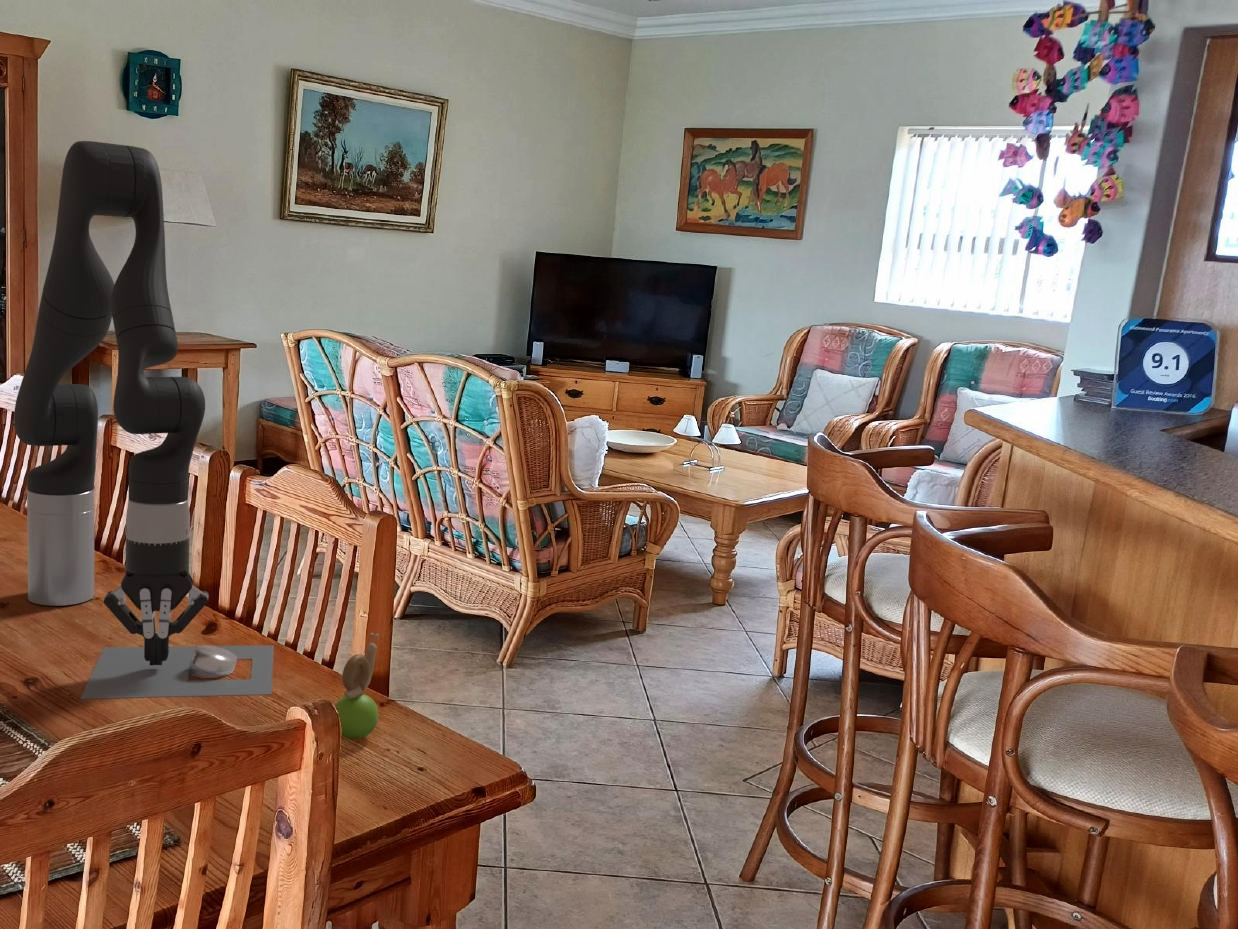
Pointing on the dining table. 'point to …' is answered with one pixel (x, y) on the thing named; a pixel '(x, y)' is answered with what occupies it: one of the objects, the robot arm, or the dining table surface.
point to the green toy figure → (358, 695)
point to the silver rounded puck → (211, 662)
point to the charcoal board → (173, 674)
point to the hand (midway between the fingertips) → (156, 663)
